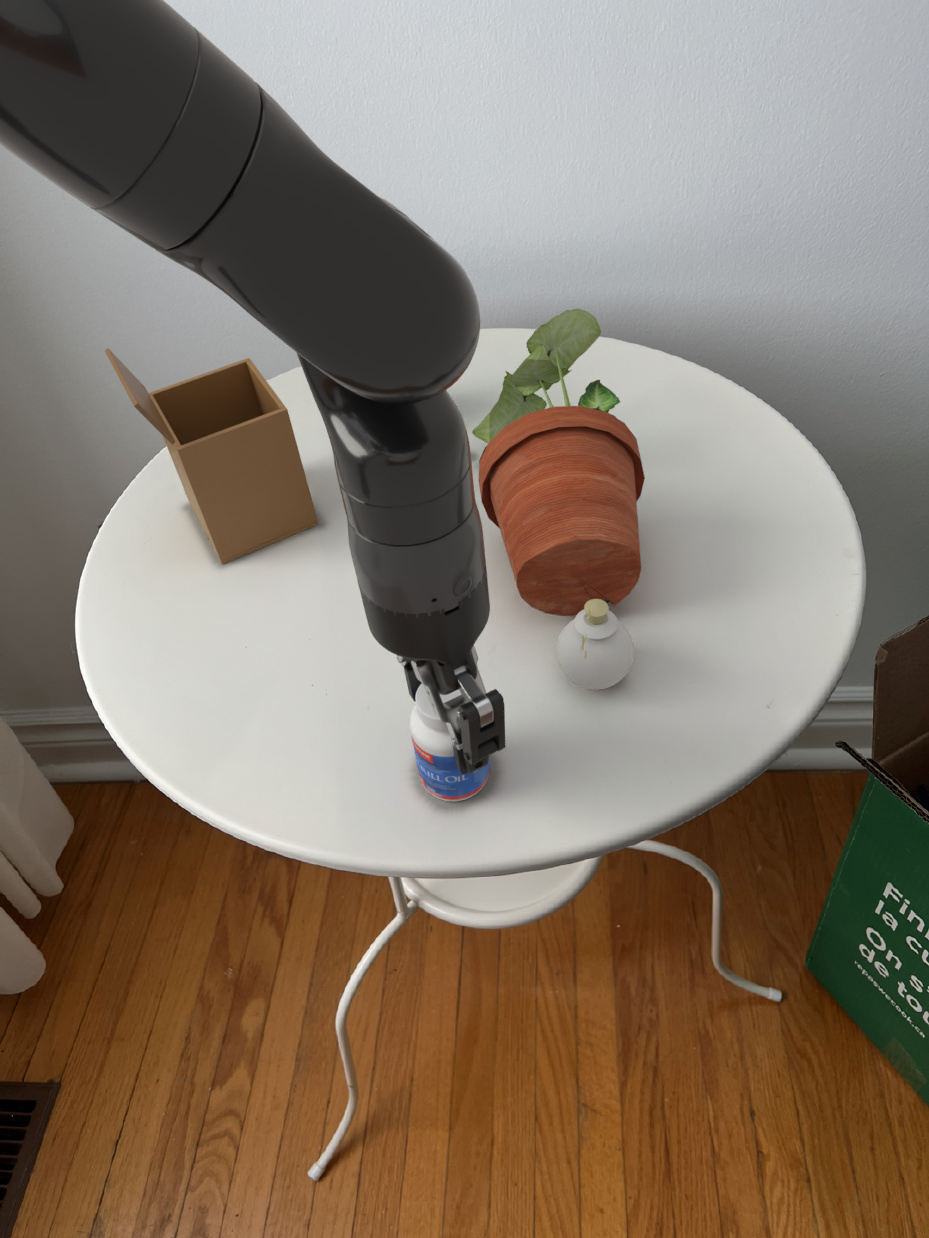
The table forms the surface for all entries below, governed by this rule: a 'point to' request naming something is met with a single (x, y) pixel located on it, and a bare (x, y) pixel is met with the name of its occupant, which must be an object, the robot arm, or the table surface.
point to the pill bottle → (440, 753)
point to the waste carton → (236, 458)
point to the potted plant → (562, 478)
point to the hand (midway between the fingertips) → (448, 728)
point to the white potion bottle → (595, 648)
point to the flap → (139, 396)
